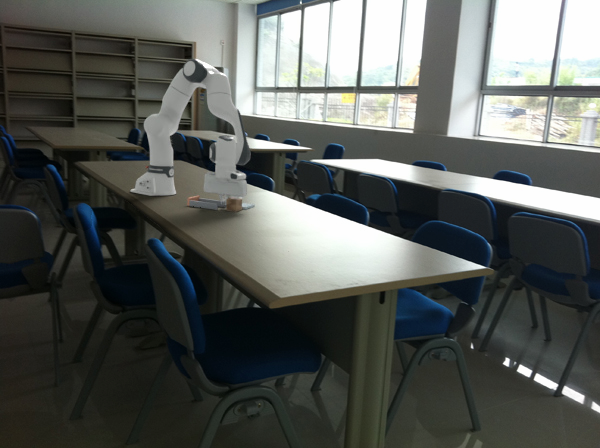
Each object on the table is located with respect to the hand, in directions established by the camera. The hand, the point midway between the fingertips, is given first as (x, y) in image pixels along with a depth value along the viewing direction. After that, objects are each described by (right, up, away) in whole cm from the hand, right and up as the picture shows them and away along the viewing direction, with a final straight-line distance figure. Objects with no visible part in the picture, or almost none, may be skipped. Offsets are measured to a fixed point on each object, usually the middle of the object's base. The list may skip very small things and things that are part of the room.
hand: (224, 204), depth 230 cm
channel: (-8, -1, +3) cm, 9 cm away
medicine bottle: (+1, +2, +21) cm, 21 cm away
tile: (+6, -1, +7) cm, 10 cm away
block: (+4, -3, -1) cm, 5 cm away
